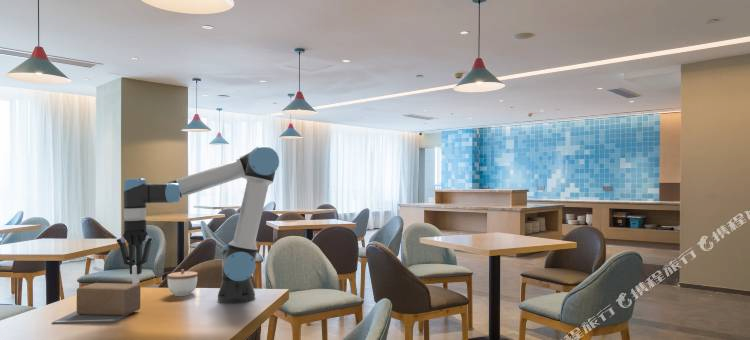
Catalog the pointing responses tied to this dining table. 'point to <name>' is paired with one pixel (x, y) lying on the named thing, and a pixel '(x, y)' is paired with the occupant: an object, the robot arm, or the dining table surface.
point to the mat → (87, 318)
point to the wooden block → (108, 299)
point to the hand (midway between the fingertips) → (135, 282)
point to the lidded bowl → (182, 282)
